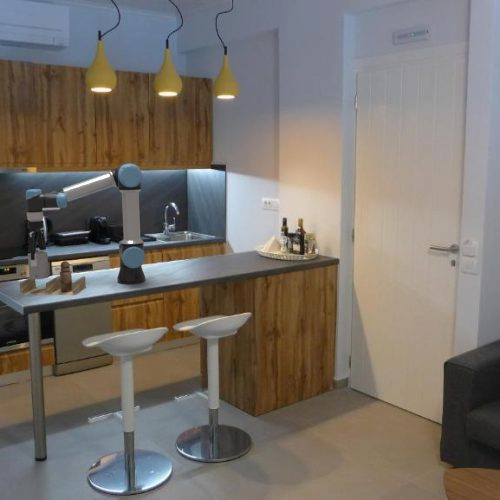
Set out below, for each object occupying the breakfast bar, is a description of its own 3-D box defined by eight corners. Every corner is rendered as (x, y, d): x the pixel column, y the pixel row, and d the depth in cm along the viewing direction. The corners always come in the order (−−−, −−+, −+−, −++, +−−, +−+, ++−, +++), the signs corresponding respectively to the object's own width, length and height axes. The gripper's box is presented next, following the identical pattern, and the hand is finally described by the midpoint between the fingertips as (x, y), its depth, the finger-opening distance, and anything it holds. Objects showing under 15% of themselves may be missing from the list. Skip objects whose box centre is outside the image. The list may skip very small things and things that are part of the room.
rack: (85, 289, 324) (85, 276, 322) (75, 296, 308) (74, 283, 307) (33, 289, 325) (32, 276, 324) (20, 296, 310) (19, 282, 309)
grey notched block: (25, 278, 312) (23, 254, 310) (37, 274, 321) (36, 251, 319) (40, 279, 309) (38, 255, 307) (53, 276, 317) (51, 252, 315)
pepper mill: (73, 289, 319) (72, 260, 316) (70, 292, 313) (68, 262, 311) (63, 289, 319) (61, 260, 316) (59, 292, 313) (57, 262, 311)
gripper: (37, 217, 321) (39, 260, 325) (18, 223, 299) (21, 268, 303) (51, 217, 321) (53, 260, 324) (33, 223, 299) (36, 268, 302)
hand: (38, 264), depth 314 cm, fingers closed on grey notched block, 9 cm apart
